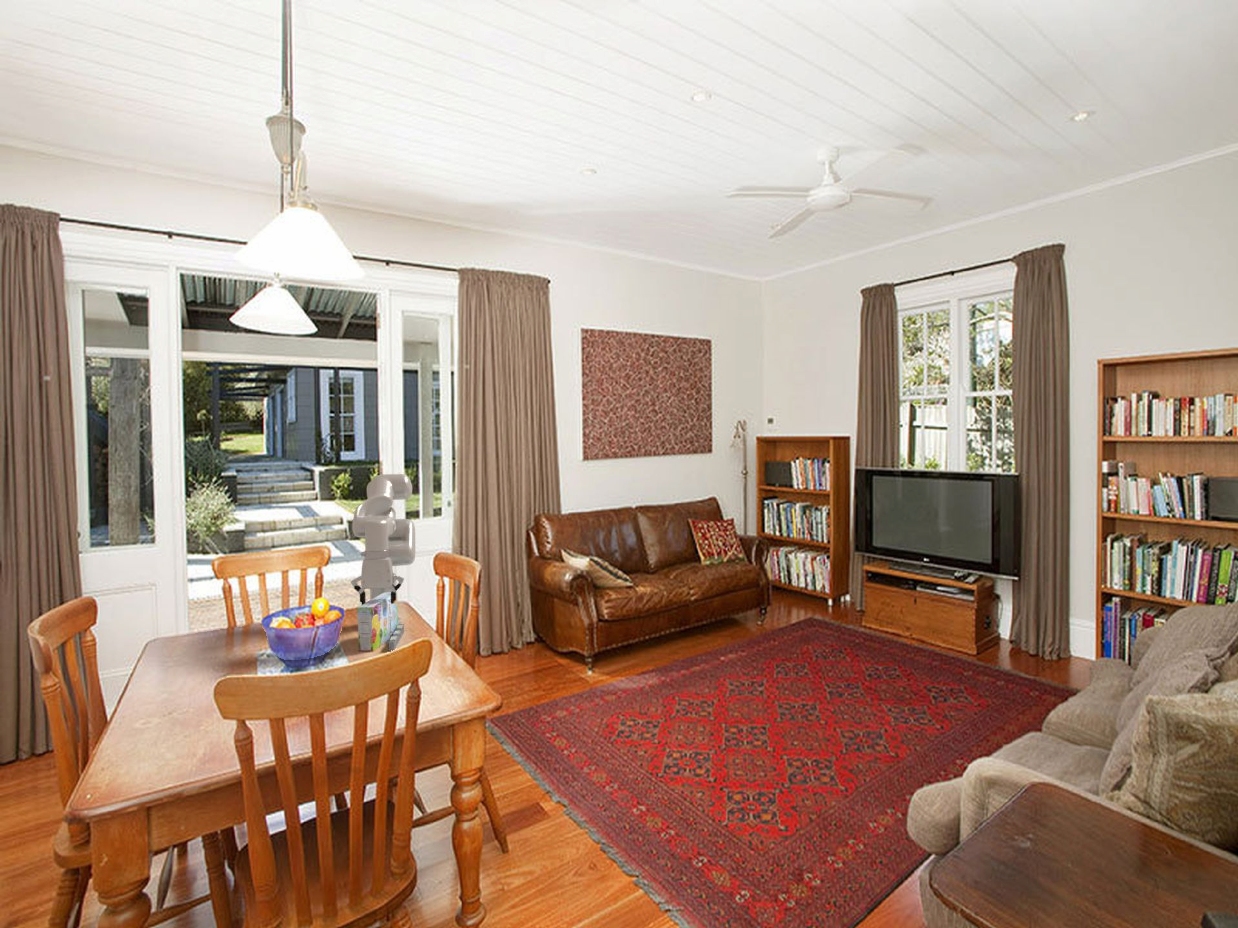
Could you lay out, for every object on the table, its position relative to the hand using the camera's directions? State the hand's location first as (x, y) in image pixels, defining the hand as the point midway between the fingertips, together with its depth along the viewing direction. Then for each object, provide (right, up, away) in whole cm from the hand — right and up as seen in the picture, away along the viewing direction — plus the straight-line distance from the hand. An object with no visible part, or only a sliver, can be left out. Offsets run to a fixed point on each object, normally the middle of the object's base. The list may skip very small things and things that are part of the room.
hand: (378, 603), depth 220 cm
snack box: (0, -14, +1) cm, 14 cm away
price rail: (+6, -13, +1) cm, 15 cm away
